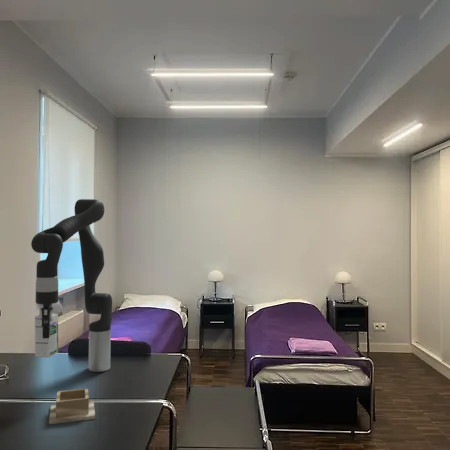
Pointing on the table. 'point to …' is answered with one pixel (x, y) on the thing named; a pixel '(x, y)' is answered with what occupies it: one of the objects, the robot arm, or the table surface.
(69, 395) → the wooden square holder
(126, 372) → the table surface
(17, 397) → the table surface
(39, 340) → the syrup box
